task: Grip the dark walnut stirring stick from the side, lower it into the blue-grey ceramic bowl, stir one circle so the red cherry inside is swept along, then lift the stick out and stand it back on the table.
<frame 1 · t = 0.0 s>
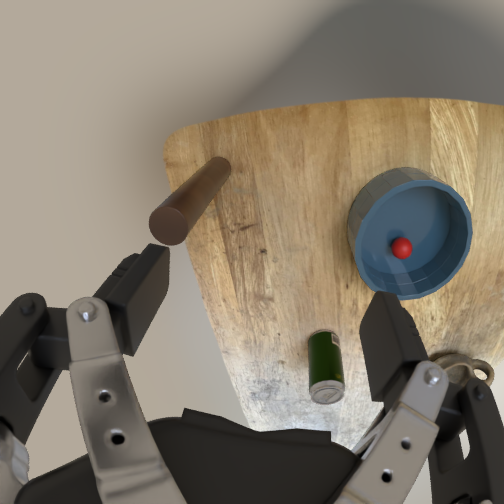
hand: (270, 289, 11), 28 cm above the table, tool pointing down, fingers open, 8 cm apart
stir stick: (218, 168, 38), on the table
mixing bowl: (403, 225, 38), on the table
beer can: (323, 338, 50), on the table
bowl: (446, 362, 51), on the table
cherry: (401, 248, 38), point 2 cm above the table, touching mixing bowl
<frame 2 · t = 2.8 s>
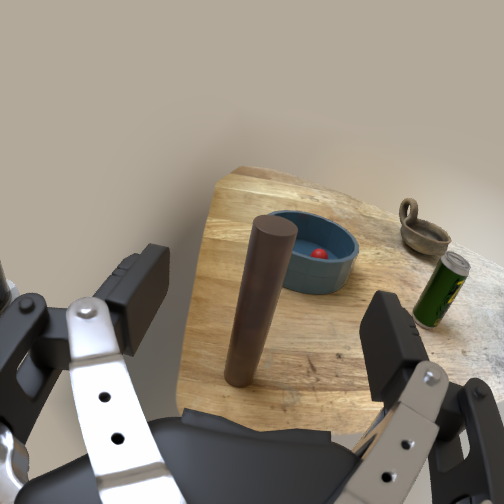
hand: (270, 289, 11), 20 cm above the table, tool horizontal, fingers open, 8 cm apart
stir stick: (238, 375, 31), on the table
mixing bowl: (301, 263, 52), on the table
beer can: (423, 320, 44), on the table
bowl: (414, 246, 68), on the table
cherry: (319, 257, 50), point 2 cm above the table, touching mixing bowl
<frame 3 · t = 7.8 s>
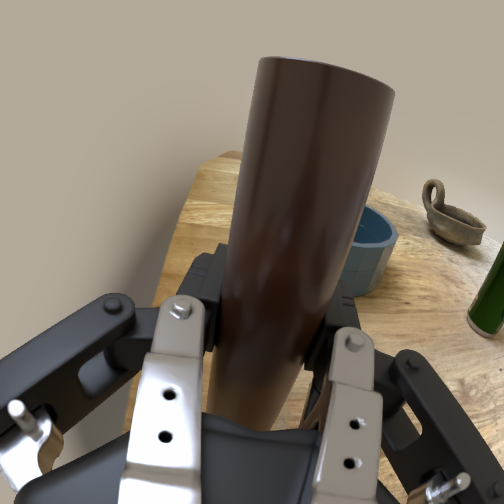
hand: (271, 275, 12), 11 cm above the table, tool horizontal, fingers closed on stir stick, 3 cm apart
stir stick: (229, 446, 15), on the table, touching gripper
mixing bowl: (317, 254, 37), on the table
beer can: (479, 326, 29), on the table
bowl: (442, 236, 54), on the table
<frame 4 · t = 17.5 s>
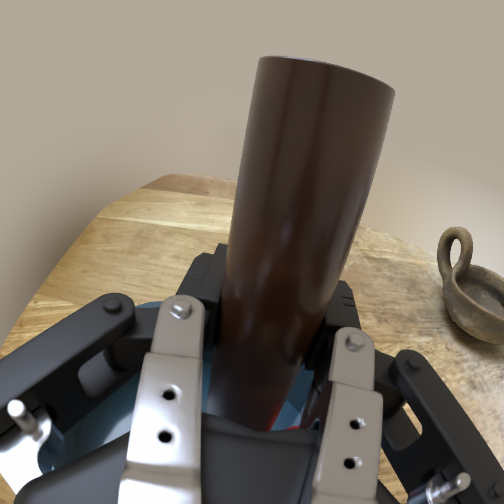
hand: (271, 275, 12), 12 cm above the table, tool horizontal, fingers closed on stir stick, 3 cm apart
stir stick: (230, 446, 15), point 2 cm above the table, touching gripper
mixing bowl: (197, 455, 15), on the table
bowl: (462, 318, 32), on the table
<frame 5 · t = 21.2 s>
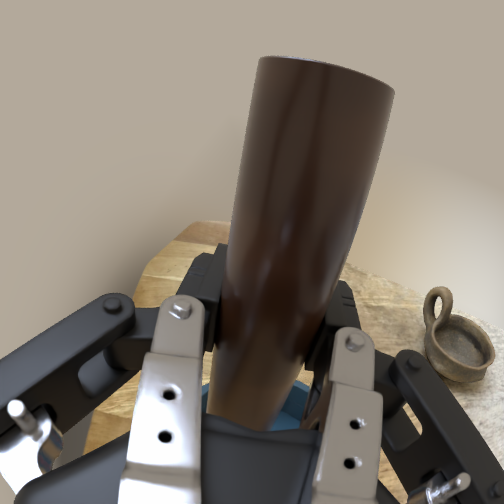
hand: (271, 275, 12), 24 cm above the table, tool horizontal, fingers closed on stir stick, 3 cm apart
stir stick: (230, 446, 15), point 13 cm above the table, touching gripper
mixing bowl: (254, 466, 25), on the table
bowl: (440, 357, 42), on the table
when the fingers open (10 cm above the table, at t = 27.8 s): stir stick stays where it is, on the table.
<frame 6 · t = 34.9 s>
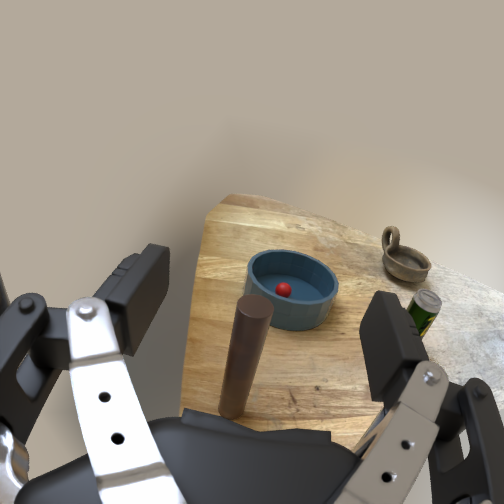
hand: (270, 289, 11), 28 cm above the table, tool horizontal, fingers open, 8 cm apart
stir stick: (230, 409, 35), on the table
mixing bowl: (286, 299, 57), on the table
beer can: (398, 349, 49), on the table
bowl: (396, 272, 74), on the table
cherry: (283, 290, 55), point 2 cm above the table, tilted 130°, touching mixing bowl
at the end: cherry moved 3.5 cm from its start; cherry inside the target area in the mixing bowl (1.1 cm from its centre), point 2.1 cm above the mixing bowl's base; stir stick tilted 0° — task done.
